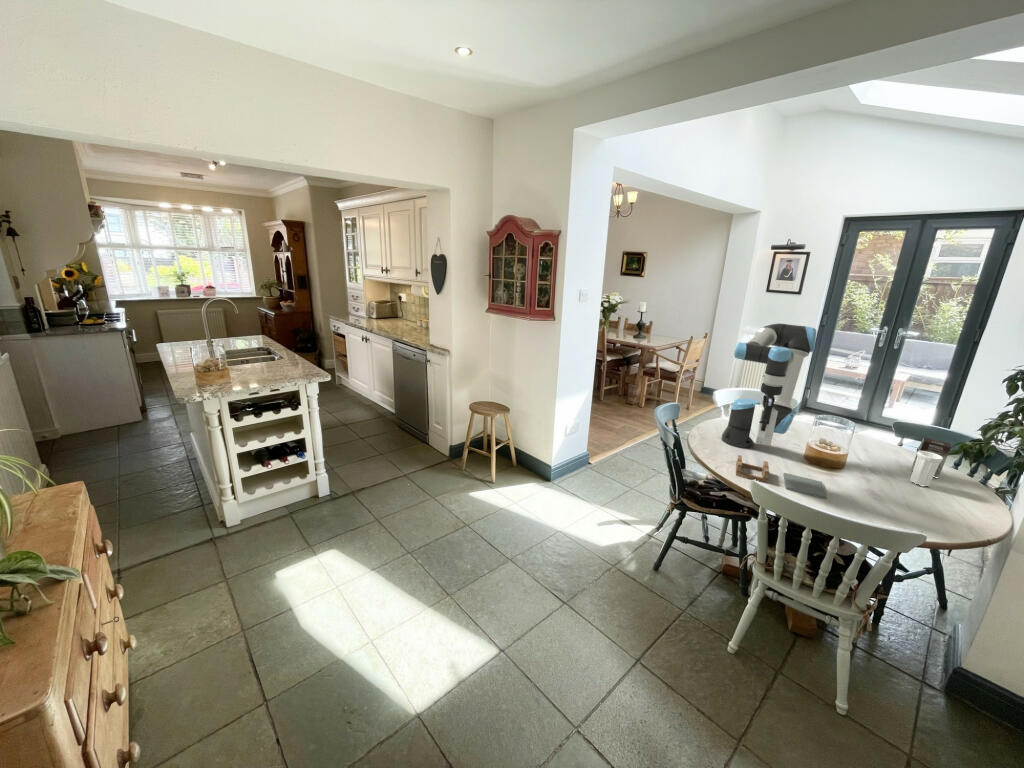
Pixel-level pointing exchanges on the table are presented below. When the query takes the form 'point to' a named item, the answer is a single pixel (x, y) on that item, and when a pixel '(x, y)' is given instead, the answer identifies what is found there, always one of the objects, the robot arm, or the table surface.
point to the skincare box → (755, 425)
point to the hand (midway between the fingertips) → (760, 433)
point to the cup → (925, 467)
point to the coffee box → (935, 451)
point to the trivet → (804, 485)
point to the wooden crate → (764, 470)
